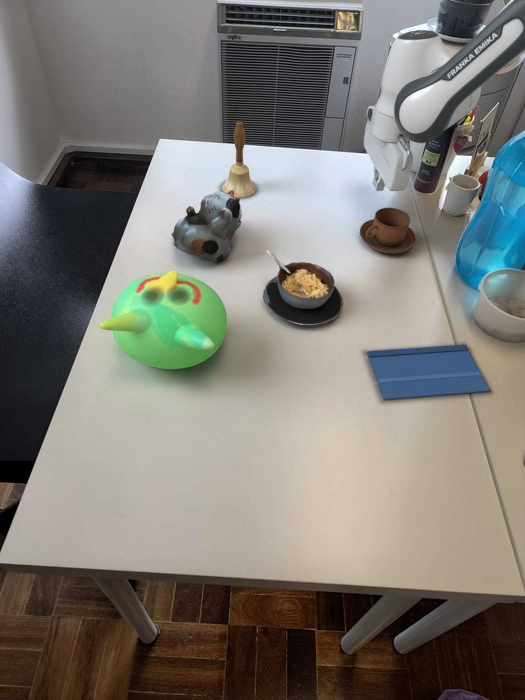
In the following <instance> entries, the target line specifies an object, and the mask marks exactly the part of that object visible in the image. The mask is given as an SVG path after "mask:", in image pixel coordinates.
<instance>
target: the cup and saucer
mask: <svg viewBox="0 0 525 700" xmlns="http://www.w3.org/2000/svg"><path fill="white" fill-rule="evenodd" d="M410 223H411V218H410V215H409V214H408V213H407V212H405V211H403V210H402V209H399V208H395V207H383V208H379V209H378V210H376V212H375V214H374V218H372V219H369V220H366V221H365V222H363V224H361V226H360V228H359V236H360V239H361V240H362V242H363V243H365V244H366V246H367V247H369V248H370V249H372V250H374V251H376V252H379V253H383V254H391V255H394V254H401V253H405V252H407V251H409V250H411V249H412V247H413V246H414V245H415V244H416V240H417V237H416V234H415V232H414V231H413V230H412V228H410V227H409V226H410Z"/></svg>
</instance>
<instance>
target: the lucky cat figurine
mask: <svg viewBox="0 0 525 700" xmlns="http://www.w3.org/2000/svg"><path fill="white" fill-rule="evenodd" d="M240 201H241V198H234V191H233V190H231V191H229V192H228V193H225V192H223V191H214V192H212V193H209V194H207V195H206V196H204V197H203V198H202V199H201V201H200V206H199V207H200V208H199V210H198V212H196V210H195V208H194V206H191V205H189V206H187V208H185V210H186V216H185V217H182V218H179V220H177V222H176V224H175V226H174V228H173V231H172V232H171V234H170V235H171V237H172V238H173V240H174V243H173V246H174V247H175V248H176V249H177V250H179V251H181V252H184V253H185V254H188V255H191V256H195V257H198V258H200V259H202V260H203V261H207V262H211V263H217V262H222V261H225V260H226V259H227V258H228V257H229V253H230V251H231V246H232V239H233V236H234V235H235V233H236V232H237V230H238V229H239V228H240V227H241V225H242V220H241V219H242V217H243V210H242V208H241V204H240Z"/></svg>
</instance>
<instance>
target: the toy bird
mask: <svg viewBox="0 0 525 700" xmlns="http://www.w3.org/2000/svg"><path fill="white" fill-rule="evenodd" d="M110 315H111V316H110V318H108V319H105V320H103V321H101V323H100V324H99V327H100V329H102V330H105V331H111V332H112V335H113V338H114V340H115V343H116V344H117V346H118V347H119V348H120V349H121V351H123V353H125V354H126V355H127V356H128V357H129V358H131V359H132V360H134V361H136V362H137V363H140V364H142V365H145V366H149V367H152V368H157V369H161V370H179V369H186V368H190V367H195V366H197V365H199V364H201V363H203V362H205V361H206V360H208V359H210V358H211V357H212V356H213V355H214V354H215V353H216V352H217V351H218V350H219V348H220V347H221V345H222V343H223V341H224V340H225V336H226V333H227V328H228V315H227V310H226V306H225V305H224V302H223V300H222V298H221V297H220V296H219V293H217V292H216V290H215V289H213V288H212V287H211V286H210V285H208V283H205V282H204V281H202V280H200V279H198V278H195V277H192V276H189V275H185V274H182V273H179V272H178V271H177V270H171V271H169V272H163V273H162V272H160V273H153V274H149V275H146V276H143V277H140V278H138V279H136V280H134V281H132V282H130V284H128V285H127V286H126V287H125V288H124V289H122V291H121V292H120V294H119V295H118V296H117V298H116V299H115V302H114V304H113V306H112V310H111V314H110Z"/></svg>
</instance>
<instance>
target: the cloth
mask: <svg viewBox="0 0 525 700" xmlns="http://www.w3.org/2000/svg"><path fill="white" fill-rule="evenodd" d="M469 350H470V349H469V347H468V345H467V344H451V345H437V346H424V347H423V346H421V347H410V348H407V347H406V348H395V349H394V348H393V349H379V350H368V351H366V355H367V357H368V360H369V363H370V366H371V368H372V372H373V374H374V377H375V380H376V382H377V385H378V388H379V391H380V394H381V397H382V399H383V401H391V400H403V399H414V398H415V399H416V398H417V399H418V398H428V397H429V398H430V397H440V396H441V397H442V396H454V395H462V394H463V395H465V394H476V393H478V394H479V393H488V392H490V391H491V390H490V388H489V387H488V385H487V382H486V381H485V379H484V377H483V375H482V372H481V371H480V370H479V367H478V366H477V364H476V362H475V360H474V359H473V357H472V355H471V353H470V351H469Z"/></svg>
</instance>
